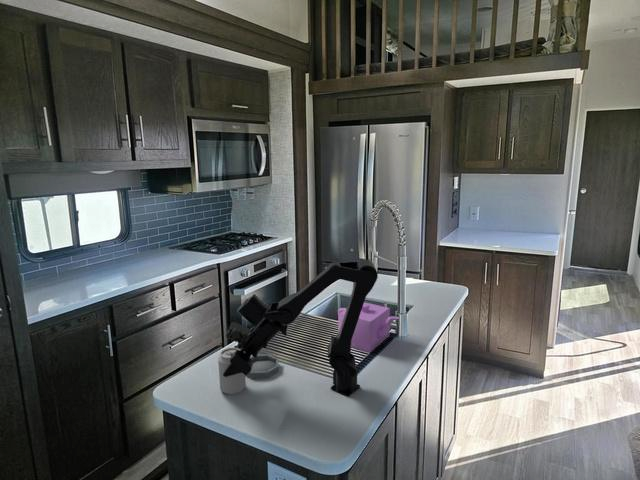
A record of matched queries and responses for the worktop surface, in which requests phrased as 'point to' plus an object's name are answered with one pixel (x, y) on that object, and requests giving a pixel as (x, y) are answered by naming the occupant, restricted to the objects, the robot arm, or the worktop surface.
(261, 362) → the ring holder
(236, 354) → the robot arm
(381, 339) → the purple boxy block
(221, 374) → the can
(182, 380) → the worktop surface
